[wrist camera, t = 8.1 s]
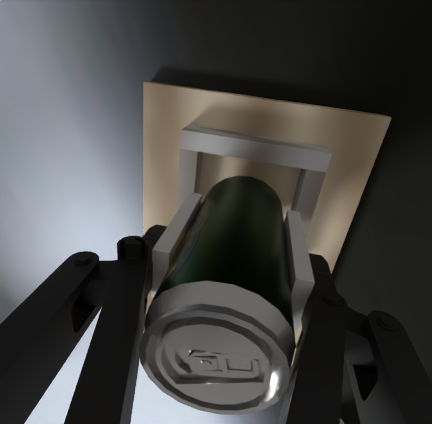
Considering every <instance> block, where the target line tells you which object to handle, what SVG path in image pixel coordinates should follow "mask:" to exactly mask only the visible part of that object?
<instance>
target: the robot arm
mask: <svg viewBox="0 0 432 424" xmlns="http://www.w3.org/2000/svg"><path fill="white" fill-rule="evenodd" d="M201 197H202V194H197V193H191V192H190V193H189V195H188V196H187V198H186V199H185V201H184V202H183V204H182V205H181V207H180V208H179V210H178V211H177V213H176V214H175V216H174V218H173V219H172V221H171V222H170V224H169V225H168V226H163V225H157V224H156V225H154V226H152V227H150V228H149V229H148V230H147V232H146V233H145V234H144V235H143V237H140V236H128V237H124V238H122V239H121V240H119V241H118V243H117V253H118V260H113V261H99V256H98V255H97V254H96V253H93V252H87V251H84V252H78V253H75V254H73V255H71V256H70V257H68V258H67V259H66V260H65V261H64V262H63V263H62V264H61V265H60V266H59V267H58V268H57V269H56V270H55V271H54V272H53V273H52V274H51V275H50V276H49V277H48V278H47V279H46V280H45V281H44V282H43V283H42V284H41V285H40V286H39V287H38V288H37V289H36V290H35V291H34V292H33V293H32V294H31V295H30V296H29V297H28V298H27V299H26V300H25V301H23V302H22V303H21V304H20V305H19V306H18V307H17V308H16V309H15V310H14V311H13V312H12V313H11V314H10V315H9V316H8V317H7V318H6V319H5V320H4V321H3V322H2V323H1V324H0V424H24V423H25V422H26V420H27V419H28V417H29V416H30V414H31V413H32V411H33V410H34V408H35V407H36V405H37V404H38V402H39V401H40V399H41V398H42V396H43V395H44V393H45V392H46V390H47V389H48V387H49V386H50V384H51V383H52V381H53V380H54V378H55V377H56V375H57V374H58V372H59V371H60V369H61V368H62V366H63V365H64V363H65V362H66V360H67V359H68V357H69V356H70V354H71V353H72V351H73V350H74V348H75V346H76V345H77V343H78V342H79V340H80V339H81V337H82V336H83V334H84V333H85V331H86V330H87V328H88V327H89V325H90V324H91V322H92V321H93V319H94V318H95V316H96V315H97V313H98V312H99V310H100V309H101V307H102V309H101V312H100V315H99V318H98V321H97V324H96V327H95V330H94V333H93V336H92V339H91V342H90V346H89V349H88V352H87V355H86V358H85V361H84V364H83V367H82V370H81V373H80V376H79V379H78V382H77V385H76V388H75V392H74V395H73V398H72V401H71V404H70V407H69V410H68V413H67V416H66V419H65V422H64V424H130V422H131V415H132V408H133V401H134V394H135V387H136V380H137V373H138V366H139V359H140V354H139V345H140V342H141V339H142V336H143V331H144V320H145V317H146V311H147V304H148V294H149V293H150V291H151V297H153V298H154V296H155V294H156V292H157V290H158V288H159V286H160V284H161V282H162V280H163V278H164V276H165V274H166V272H167V271H168V269H169V267H170V265H171V263H172V261H173V259H174V257H175V255H176V253H177V251H178V249H179V247H180V245H181V243H182V241H183V239H184V237H185V236H186V234H187V232H188V230H189V228H190V226H191V224H192V222H193V220H194V218H195V216H196V214H197V212H198V210H199V208H200V206H201ZM284 226H285V237H286V247H287V258H288V268H289V279H290V289H291V300H292V310H293V321H294V328H295V329H298V328H299V325H300V322H301V323H302V330H301V333H300V336H299V339H298V341H297V344H296V352H295V356H294V360H293V364H292V368H291V375H290V379H289V384H288V388H287V390H286V392H285V396H284V400H283V404H282V408H281V412H280V416H279V420H278V424H340V411H341V396H342V381H343V366H344V360H346V361H347V367H348V371H349V375H350V380H351V384H352V389H353V393H354V397H355V402H356V406H357V410H358V415H359V419H360V423H361V424H432V384H431V382H430V380H429V378H428V376H427V374H426V372H425V370H424V368H423V365H422V363H421V361H420V359H419V357H418V355H417V353H416V351H415V349H414V347H413V345H412V343H411V341H410V339H409V337H408V335H407V333H406V331H405V329H404V327H403V325H402V324H401V323H400V322H399V321H398V320H397V319H396V318H395V317H393V316H392V315H390V314H388V313H386V312H383V311H377V310H374V311H371V312H370V313H369V314H368V316H366V315H363V314H361V313H359V312H356V311H354V310H352V309H350V308H349V307H347V302H346V301H345V299H344V298H343V297H342V296H341V295H340V294H338V293H337V291H336V288H335V284H334V281H333V278H332V275H331V271H330V268H329V265H328V262H327V261H326V260H325V258H324V257H323V256H322V255H317V254H312V253H308V248H307V243H306V239H305V234H304V229H303V225H302V220H301V215H300V212H297V211H291V210H287V213H286V217H285V220H284Z"/></svg>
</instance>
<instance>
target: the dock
mask: <svg viewBox="0 0 432 424" xmlns="http://www.w3.org/2000/svg"><path fill="white" fill-rule="evenodd" d="M390 120H391V117H389V116H386V115H381V114H374V113H367V112H360V111H353V110H346V109H339V108H332V107H325V106H318V105H311V104H304V103H297V102H290V101H283V100H276V99H269V98H262V97H255V96H248V95H241V94H234V93H227V92H220V91H213V90H206V89H199V88H192V87H185V86H178V85H171V84H164V83H157V82H143V235H144V234H145V233H146V232H147V230H148V229H149V228H150V227H152V226H154V225H156V224H157V225H163V226H168V225H169V224H170V222H171V221H172V219H173V218H174V216H175V214H176V213H177V211H178V210H179V208H180V207H181V205H182V204H183V202H184V201H185V199H186V198H187V196H188V195H189V193H190V192H191V193H197V194H202V197H201V204H202V202H203V201H204V199H205V197H206V195H207V193H208V192H209V191H210V190H211V188H212V187H213V186H214V185H215V184H217V183H218V182H220V181H222V180H223V179H225V178H229V177H233V176H238V175H239V176H251V177H254V178H256V179H259V180H261V181H264V182H265V183H266V184H268V185H269V186H270V187H271V188H272V189H274V190H275V192H276V194H277V195H278V197H279V199H280V200H281V204H282V209H283V216H284V220H285V217H286V213H287V210H291V211H297V212H300V215H301V220H302V225H303V229H304V234H305V239H306V243H307V248H308V253H312V254H317V255H322V256H323V257H324V258H325V260H326V261H327V262H328V265H329V268H330V271H331V274H332V271H333V268H334V266H335V263H336V261H337V258H338V255H339V253H340V250H341V248H342V245H343V242H344V240H345V237H346V235H347V232H348V229H349V227H350V224H351V222H352V219H353V216H354V214H355V211H356V209H357V206H358V203H359V201H360V198H361V196H362V193H363V191H364V188H365V185H366V183H367V180H368V178H369V175H370V172H371V170H372V167H373V165H374V162H375V159H376V157H377V154H378V152H379V149H380V146H381V144H382V141H383V139H384V136H385V133H386V131H387V128H388V126H389V123H390ZM152 300H153V297H151V291H150V293H149V294H148V304H147V311H148V308H149V305H150V304H151V302H152ZM147 311H146V314H147ZM301 330H302V323H301V322H300V325H299V328H298V329H295V328H294V331H295V341H296V344H297V341H298V339H299V336H300V333H301ZM144 331H145V328H144ZM295 352H296V348H295ZM295 352H294V356H295ZM293 360H294V357H293ZM292 364H293V361H292ZM292 364H291V365H292Z"/></svg>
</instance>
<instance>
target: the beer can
mask: <svg viewBox="0 0 432 424" xmlns="http://www.w3.org/2000/svg"><path fill="white" fill-rule="evenodd" d="M144 328H145V331H144V334H143V336H142V339H141V342H140V345H139V354H140V361H141V364H142V366H143V368H144V370H145V372H146V373H147V375H148V377H149V378H150V379H151V380H152V381H153V382H154V383H155V384H156V385H157V386H158V387H159V388H160V389H161V390H162V391H163V392H164V393H166V394H167V395H169V396H171V397H172V398H174V399H175V400H177V401H178V402H180V403H183V404H185V405H188V406H190V407H193V408H195V409H198V410H201V411H206V412H211V413H216V414H232V415H242V414H247V413H251V412H256V411H261V410H263V409H265V408H266V407H268V406H270V405H272V404H274V403H276V402H277V401H278V400H279V399H280V398H281V396H282V395H283V394H284V393H285V392H286V390H287V388H288V384H289V379H290V375H291V370H290V366H291V364H292V361H293V357H294V352H295V348H296V341H295V331H294V321H293V310H292V300H291V289H290V279H289V268H288V258H287V247H286V237H285V226H284V216H283V209H282V204H281V200H280V199H279V197H278V195H277V194H276V192H275V190H274V189H272V188H271V187H270V186H269V185H268V184H266V183H265V182H264V181H261V180H259V179H256V178H254V177H251V176H239V175H238V176H233V177H229V178H225V179H223V180H222V181H220V182H218V183H217V184H215V185H214V186H213V187H212V188H211V190H210V191H209V192H208V193H207V195H206V197H205V199H204V201H203V202H202V204H201V206H200V208H199V210H198V212H197V214H196V216H195V218H194V220H193V222H192V224H191V226H190V228H189V230H188V232H187V234H186V236H185V237H184V239H183V241H182V243H181V245H180V247H179V249H178V251H177V253H176V255H175V257H174V259H173V261H172V263H171V265H170V267H169V269H168V271H167V272H166V274H165V276H164V278H163V280H162V282H161V284H160V286H159V288H158V290H157V292H156V294H155V296H154V298H153V300H152V302H151V304H150V305H149V308H148V311H147V314H146V317H145V320H144Z"/></svg>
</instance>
